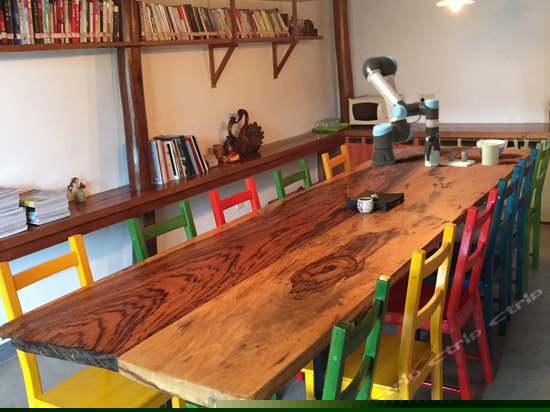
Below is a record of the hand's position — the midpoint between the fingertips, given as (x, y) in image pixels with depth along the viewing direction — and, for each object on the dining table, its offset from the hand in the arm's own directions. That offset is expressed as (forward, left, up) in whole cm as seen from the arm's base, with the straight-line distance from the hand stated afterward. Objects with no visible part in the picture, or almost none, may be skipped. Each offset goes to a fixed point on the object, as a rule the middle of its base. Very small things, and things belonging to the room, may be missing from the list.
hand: (432, 164), depth 371 cm
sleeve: (0, 0, 0) cm, 0 cm away
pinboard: (+12, +8, 0) cm, 14 cm away
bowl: (+22, +32, 0) cm, 39 cm away
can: (+29, +14, 0) cm, 32 cm away
